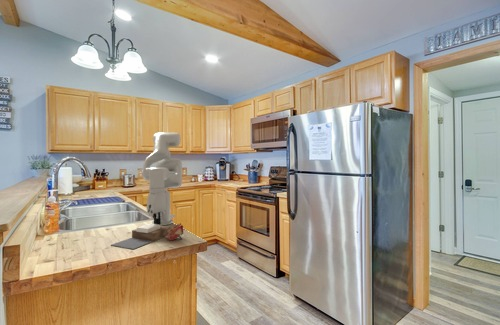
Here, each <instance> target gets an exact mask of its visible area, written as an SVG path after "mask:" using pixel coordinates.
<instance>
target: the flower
mask: <svg viewBox="0 0 500 325" xmlns="http://www.w3.org/2000/svg"><path fill="white" fill-rule="evenodd" d="M184 229H185V228H184V226H183V224H182V223H181V222H180V223H177V224H176V223H175V224H174V226H171V228H170V229H169V230H168V231H167V232H168V233H169V234H168V235H166V236H165V237H164V238H166V239H167V238H168V241H174V240H176V239H178V238H179V239H180V240H182V239H183V237H182V235H183V234H184Z"/></svg>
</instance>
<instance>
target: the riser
mask: <svg viewBox="0 0 500 325" xmlns="http://www.w3.org/2000/svg"><path fill="white" fill-rule="evenodd" d="M170 228H172V226H168V225H162V226H160V229H157V230H155V231H152V232H149V233H144V232H137V228H135V229H132V230H131V238H137V239H143V240H150V241H153V242H156V241H158V240H159V241H160V240H161V239H163V238H166V237H165V236H166V235H168V234H169V233H168V232H167V231H168V230H169V229H170ZM153 242H152V243H153Z"/></svg>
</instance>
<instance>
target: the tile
mask: <svg viewBox="0 0 500 325" xmlns="http://www.w3.org/2000/svg"><path fill="white" fill-rule="evenodd" d="M136 229H137V232H144V233H149V232H152V231H155V230H157V229H160V225H159V224H152V222H151V223H146V224H143V225H140V226H137V227H136Z"/></svg>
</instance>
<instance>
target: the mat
mask: <svg viewBox="0 0 500 325" xmlns="http://www.w3.org/2000/svg"><path fill="white" fill-rule="evenodd" d="M152 243H153V241H150V240H143V239H137V238H132V237H130V238H129V237H128V238H126V239H124V240H121V241H118V242H115V243H112V244H110V246H111V247H115V248H116V247H117V248H121V249H126V250H133V251H134V250H136V249H138V248H141V247H144V246H146V245H149V244H152Z"/></svg>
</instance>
